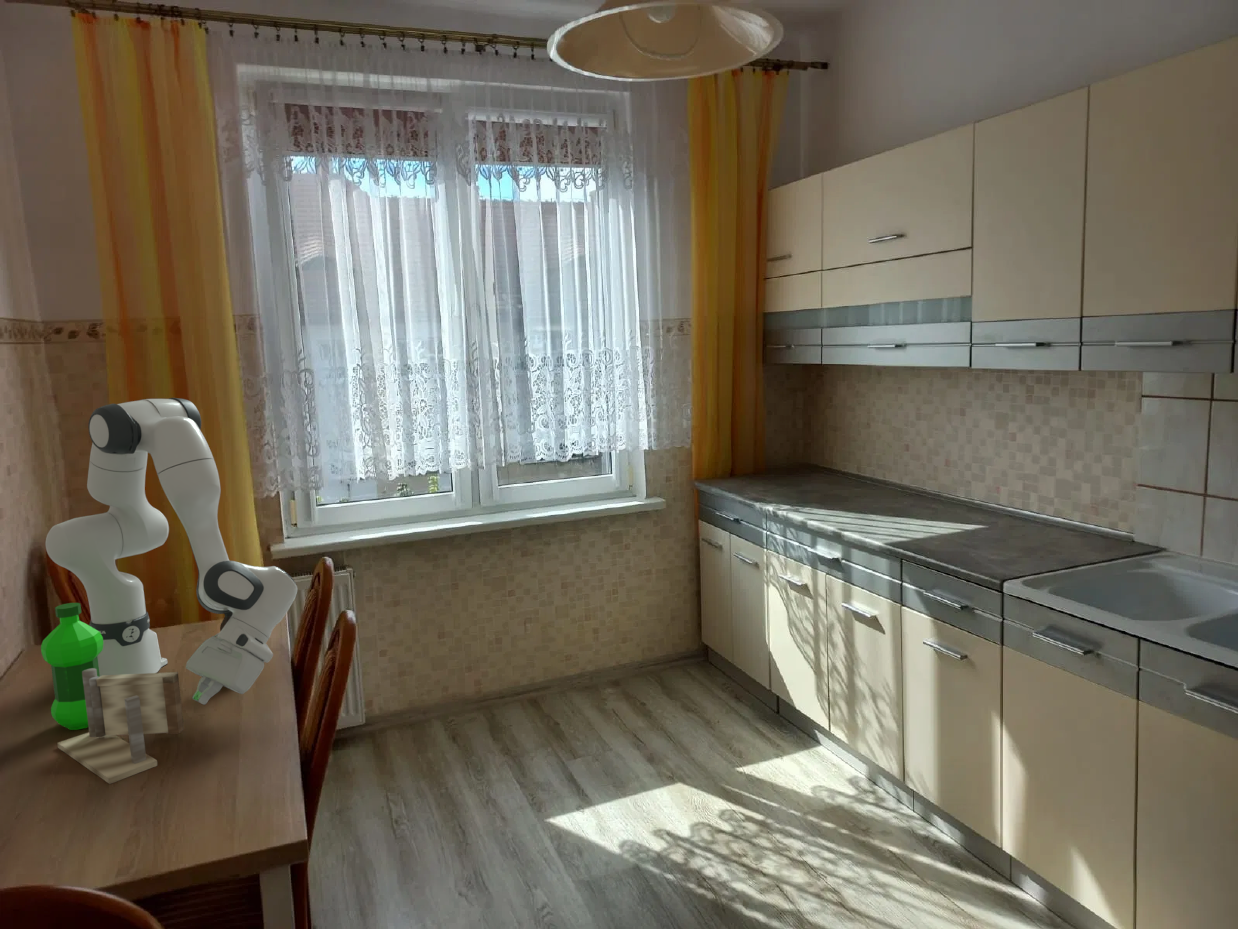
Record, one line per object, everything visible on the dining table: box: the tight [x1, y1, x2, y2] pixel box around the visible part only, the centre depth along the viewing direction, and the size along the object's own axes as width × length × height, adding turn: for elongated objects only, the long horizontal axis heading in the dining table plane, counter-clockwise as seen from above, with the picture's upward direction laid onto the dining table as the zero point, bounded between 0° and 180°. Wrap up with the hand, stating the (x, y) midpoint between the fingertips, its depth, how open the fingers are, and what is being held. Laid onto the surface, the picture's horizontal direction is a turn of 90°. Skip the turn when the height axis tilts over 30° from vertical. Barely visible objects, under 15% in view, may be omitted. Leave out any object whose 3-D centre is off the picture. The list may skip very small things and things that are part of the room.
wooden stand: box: [57, 668, 158, 785], centre depth 156 cm, size 24×8×14 cm, turn 52°
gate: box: [89, 671, 185, 737], centre depth 162 cm, size 16×2×12 cm, turn 92°
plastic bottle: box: [40, 602, 103, 731], centre depth 170 cm, size 10×10×25 cm
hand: (197, 702), depth 167 cm, fingers closed
